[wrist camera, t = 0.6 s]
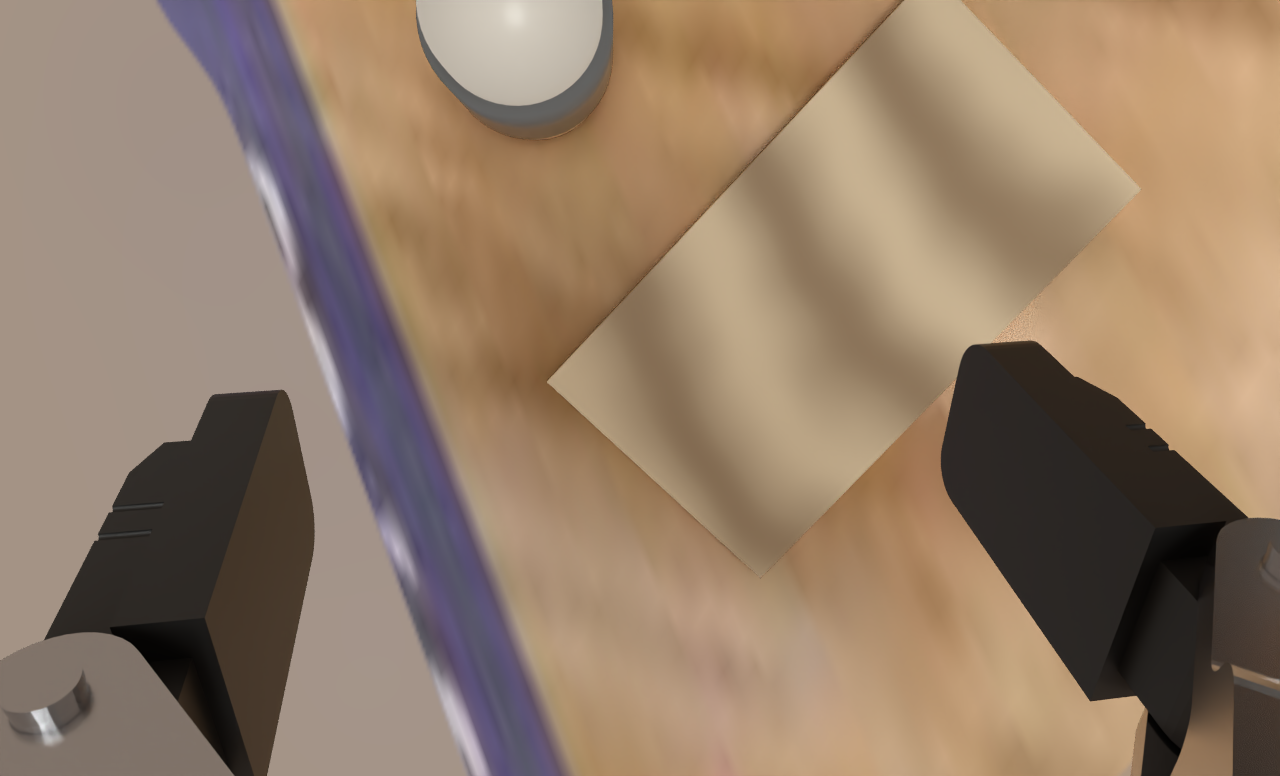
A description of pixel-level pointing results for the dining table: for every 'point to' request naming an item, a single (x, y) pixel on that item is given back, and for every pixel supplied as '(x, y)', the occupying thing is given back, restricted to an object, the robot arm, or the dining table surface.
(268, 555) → the robot arm
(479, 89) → the grey banded cylinder
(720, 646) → the dining table surface
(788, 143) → the oak board
